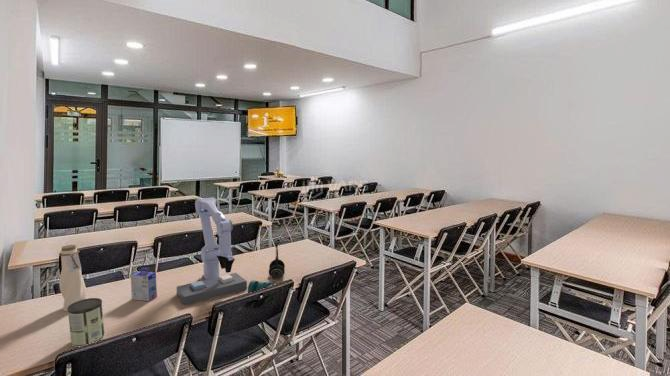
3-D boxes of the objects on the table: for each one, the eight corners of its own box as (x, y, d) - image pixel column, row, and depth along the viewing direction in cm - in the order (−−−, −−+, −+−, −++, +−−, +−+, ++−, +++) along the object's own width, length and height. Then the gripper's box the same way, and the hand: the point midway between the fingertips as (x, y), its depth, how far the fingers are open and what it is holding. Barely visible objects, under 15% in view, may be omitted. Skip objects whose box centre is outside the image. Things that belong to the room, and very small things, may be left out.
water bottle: (93, 304, 153) (88, 245, 150) (72, 314, 145) (67, 250, 141) (78, 301, 157) (72, 242, 153) (56, 310, 148) (50, 248, 145)
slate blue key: (191, 289, 164) (190, 283, 164) (201, 286, 168) (201, 280, 167) (194, 292, 161) (193, 286, 160) (204, 290, 164) (204, 284, 163)
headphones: (284, 271, 197) (284, 237, 194) (284, 281, 182) (284, 245, 180) (269, 271, 195) (269, 238, 193) (268, 282, 181) (267, 245, 178)
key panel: (176, 294, 165) (176, 286, 164) (236, 279, 183) (235, 272, 183) (184, 305, 154) (184, 296, 154) (246, 288, 173) (246, 281, 172)
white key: (219, 282, 173) (219, 276, 173) (229, 279, 176) (229, 274, 176) (223, 285, 169) (223, 279, 169) (232, 283, 172) (232, 277, 172)
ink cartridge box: (158, 296, 162) (156, 267, 161) (149, 301, 157) (147, 271, 155) (140, 294, 164) (138, 265, 163) (131, 299, 159) (129, 270, 157)
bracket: (260, 301, 159) (260, 285, 158) (247, 299, 161) (247, 283, 160) (278, 286, 176) (278, 271, 175) (267, 284, 178) (266, 270, 177)
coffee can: (83, 332, 131) (80, 297, 129) (110, 332, 132) (108, 297, 130) (63, 348, 121) (59, 310, 119) (92, 347, 121) (89, 310, 120)
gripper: (212, 242, 173) (213, 267, 175) (222, 249, 162) (223, 276, 164) (225, 240, 178) (226, 264, 179) (236, 246, 166) (237, 273, 168)
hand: (225, 270), depth 172 cm, fingers open, 6 cm apart
